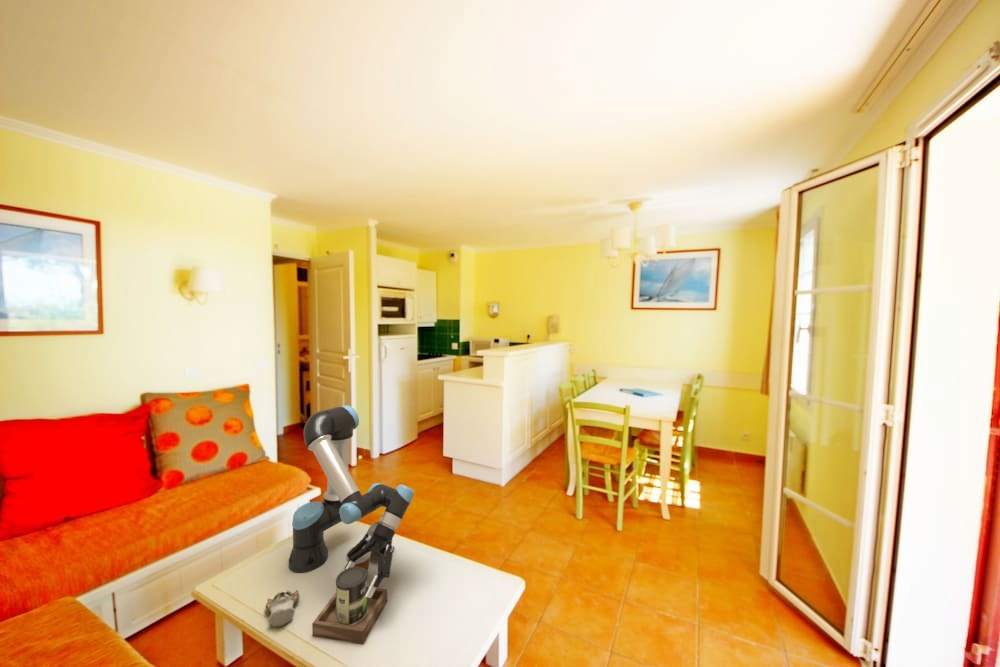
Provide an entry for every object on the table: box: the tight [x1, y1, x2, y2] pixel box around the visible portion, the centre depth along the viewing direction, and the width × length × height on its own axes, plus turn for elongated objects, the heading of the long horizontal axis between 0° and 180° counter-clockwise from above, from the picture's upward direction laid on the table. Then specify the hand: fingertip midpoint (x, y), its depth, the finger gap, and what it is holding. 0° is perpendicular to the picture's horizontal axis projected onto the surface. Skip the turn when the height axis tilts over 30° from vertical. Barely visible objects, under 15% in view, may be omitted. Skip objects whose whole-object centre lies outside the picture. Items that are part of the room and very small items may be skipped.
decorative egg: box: [365, 521, 393, 559], centre depth 161 cm, size 12×12×15 cm
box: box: [311, 586, 389, 645], centre depth 129 cm, size 18×18×4 cm
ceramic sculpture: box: [265, 589, 300, 627], centre depth 130 cm, size 11×9×15 cm
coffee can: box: [335, 567, 368, 626], centre depth 129 cm, size 10×10×14 cm
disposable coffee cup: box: [345, 545, 371, 575], centre depth 147 cm, size 10×10×12 cm
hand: (354, 589), depth 129 cm, fingers open, 13 cm apart
